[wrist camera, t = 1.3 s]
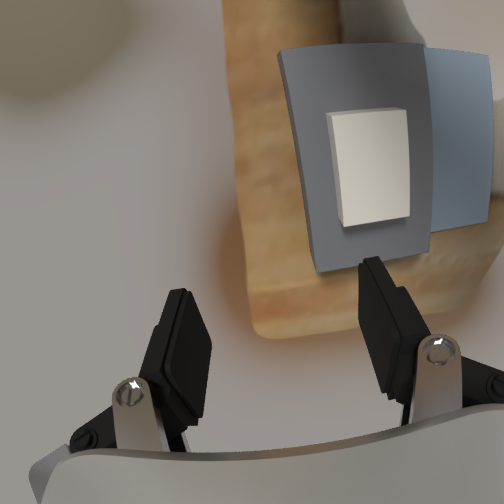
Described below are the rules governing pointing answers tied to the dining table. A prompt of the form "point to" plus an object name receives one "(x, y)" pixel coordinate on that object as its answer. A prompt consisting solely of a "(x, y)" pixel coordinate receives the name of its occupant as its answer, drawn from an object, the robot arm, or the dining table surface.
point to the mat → (460, 136)
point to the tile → (370, 164)
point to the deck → (319, 150)
